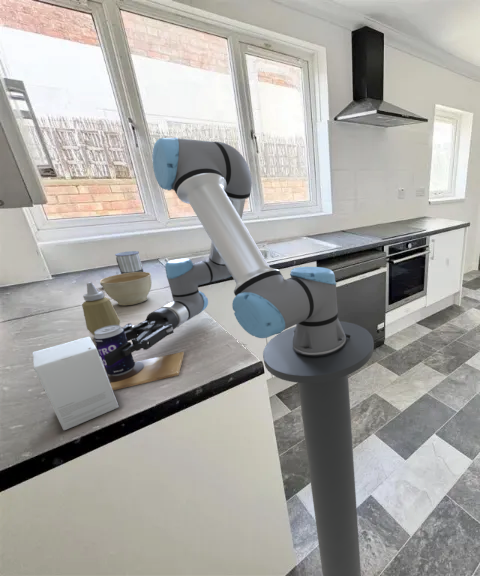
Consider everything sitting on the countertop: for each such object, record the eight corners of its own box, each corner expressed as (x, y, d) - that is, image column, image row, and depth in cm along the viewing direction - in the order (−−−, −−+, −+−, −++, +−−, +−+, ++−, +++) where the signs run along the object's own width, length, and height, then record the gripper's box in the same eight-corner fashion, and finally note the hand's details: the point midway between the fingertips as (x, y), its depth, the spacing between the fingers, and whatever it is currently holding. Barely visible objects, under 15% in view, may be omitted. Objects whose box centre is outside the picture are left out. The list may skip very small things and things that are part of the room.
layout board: (184, 353, 88) (183, 350, 88) (178, 375, 79) (177, 371, 78) (95, 372, 80) (93, 369, 80) (76, 399, 71) (75, 395, 70)
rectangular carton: (111, 390, 73) (91, 334, 68) (119, 407, 67) (97, 347, 63) (58, 411, 67) (30, 351, 62) (62, 432, 61) (32, 367, 56)
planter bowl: (158, 302, 127) (151, 277, 124) (107, 312, 118) (98, 285, 114) (155, 292, 139) (149, 269, 136) (109, 300, 130) (101, 276, 126)
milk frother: (151, 279, 158) (143, 251, 153) (122, 289, 143) (113, 258, 138) (127, 278, 160) (118, 250, 155) (96, 288, 145) (86, 258, 140)
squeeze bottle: (92, 343, 95) (72, 288, 89) (89, 335, 100) (70, 283, 94) (125, 334, 101) (108, 282, 95) (121, 327, 106) (104, 277, 100)
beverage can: (106, 371, 79) (91, 329, 75) (134, 362, 83) (120, 322, 79) (109, 380, 75) (92, 337, 71) (137, 370, 79) (123, 328, 75)
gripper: (199, 330, 94) (136, 375, 73) (142, 328, 96) (63, 373, 74) (193, 307, 92) (126, 347, 70) (135, 306, 93) (52, 345, 71)
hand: (94, 360), depth 72 cm, fingers closed on beverage can, 6 cm apart
